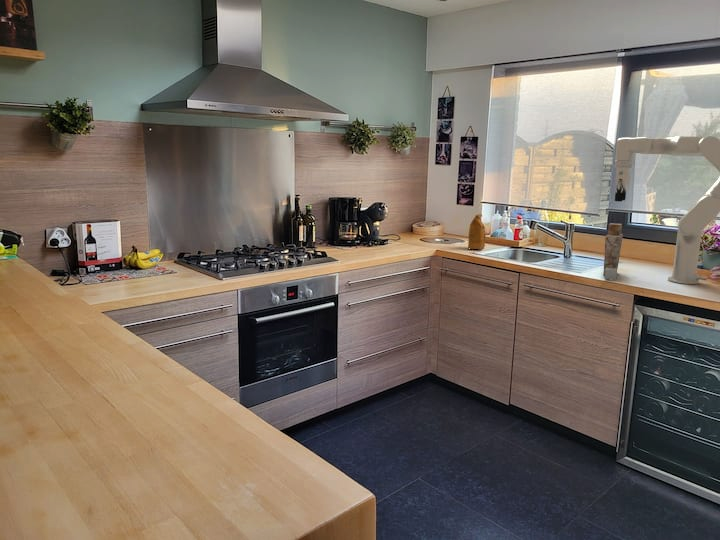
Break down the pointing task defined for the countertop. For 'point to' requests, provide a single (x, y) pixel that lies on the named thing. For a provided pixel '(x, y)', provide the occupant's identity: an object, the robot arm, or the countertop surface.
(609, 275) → the slate grey cube
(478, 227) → the coffee package
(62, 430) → the countertop surface
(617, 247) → the stone block
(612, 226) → the walnut cube
